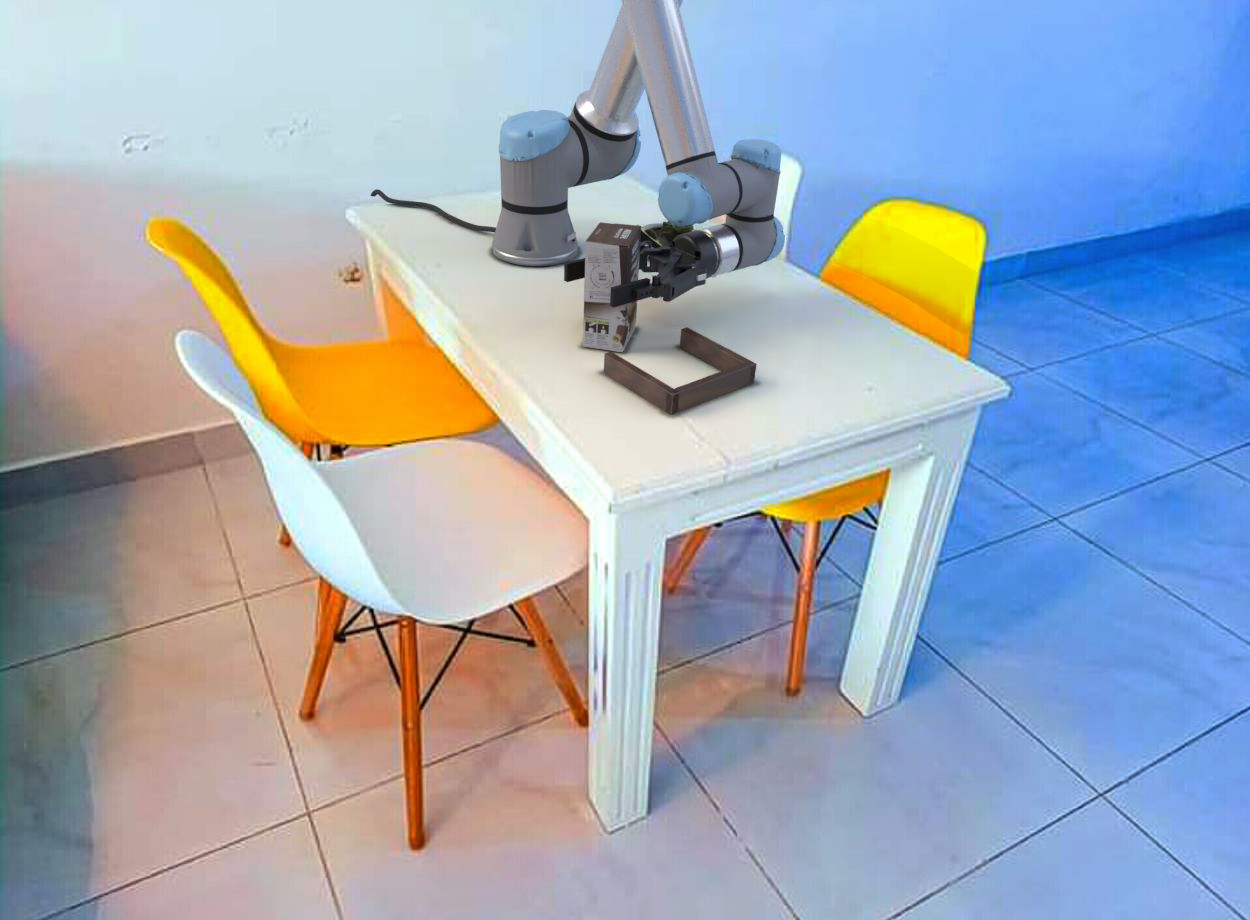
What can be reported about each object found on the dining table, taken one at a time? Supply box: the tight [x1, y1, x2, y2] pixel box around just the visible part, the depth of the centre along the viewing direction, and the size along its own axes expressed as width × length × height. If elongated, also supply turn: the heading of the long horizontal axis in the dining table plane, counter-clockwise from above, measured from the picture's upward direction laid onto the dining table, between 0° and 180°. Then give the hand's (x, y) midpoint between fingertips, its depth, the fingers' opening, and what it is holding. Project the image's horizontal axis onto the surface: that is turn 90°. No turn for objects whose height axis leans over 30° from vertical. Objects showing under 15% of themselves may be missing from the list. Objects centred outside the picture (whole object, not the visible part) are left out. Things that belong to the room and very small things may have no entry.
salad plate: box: [635, 220, 698, 261], centre depth 170 cm, size 19×18×5 cm
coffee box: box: [582, 221, 642, 353], centre depth 132 cm, size 9×6×16 cm
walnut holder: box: [603, 326, 757, 416], centre depth 126 cm, size 14×15×3 cm
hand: (588, 284), depth 129 cm, fingers closed on coffee box, 10 cm apart
